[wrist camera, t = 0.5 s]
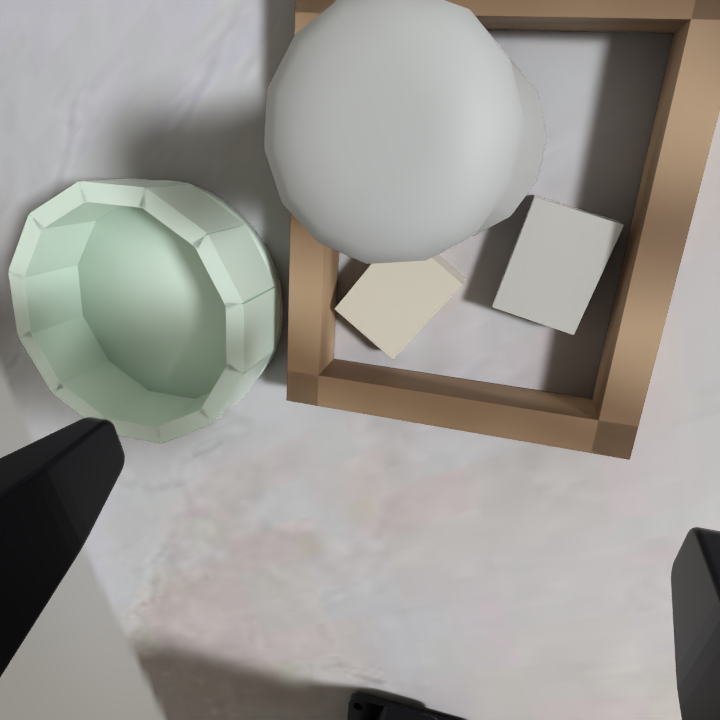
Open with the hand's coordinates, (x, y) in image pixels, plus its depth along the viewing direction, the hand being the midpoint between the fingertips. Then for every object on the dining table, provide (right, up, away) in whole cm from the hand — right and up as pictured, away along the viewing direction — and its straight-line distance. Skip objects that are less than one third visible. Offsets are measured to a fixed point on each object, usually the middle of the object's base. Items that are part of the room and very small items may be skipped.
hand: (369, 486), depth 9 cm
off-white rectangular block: (+7, +6, +12) cm, 15 cm away
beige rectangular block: (+2, +5, +14) cm, 15 cm away
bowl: (-8, +5, +17) cm, 19 cm away
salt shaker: (+3, +10, +12) cm, 16 cm away
